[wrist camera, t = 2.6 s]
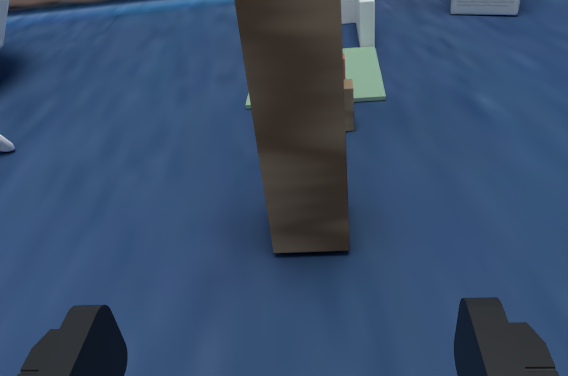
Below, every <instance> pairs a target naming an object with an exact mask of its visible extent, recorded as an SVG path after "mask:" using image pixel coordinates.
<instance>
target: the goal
mask: <svg viewBox="0 0 568 376" xmlns="http://www.w3.org/2000/svg"><path fill="white" fill-rule="evenodd" d="M341 20H342V24H347V23H356V25H357V32H358V38H359V44H360V47H372V46H375V0H341Z"/></svg>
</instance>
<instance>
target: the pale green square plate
mask: <svg viewBox="0 0 568 376" xmlns="http://www.w3.org/2000/svg"><path fill="white" fill-rule="evenodd" d="M343 53H344V55H345V78H346V79H352V81H353V94H354V102H363V101H378V100H386V95H385V90H384V86H383V81H382V77H381V72H380V68H379V63H378V59H377V54H376V50H375V46H372V47H359V48H345V49H343ZM245 106H246V109H251V103H250V97H249V93H248V97H247V101H246V105H245Z"/></svg>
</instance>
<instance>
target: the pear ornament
mask: <svg viewBox="0 0 568 376" xmlns="http://www.w3.org/2000/svg"><path fill="white" fill-rule="evenodd" d="M8 6H9V0H0V49H1V47H2V46H3V41H4V34H5V27H6V20H7V13H8ZM12 150H14V146H13V144H12V143H11V142H10V141H8V140H7V139H6V138H4V137H3V136H2V135H0V151H3V152H9V151H12Z"/></svg>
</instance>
